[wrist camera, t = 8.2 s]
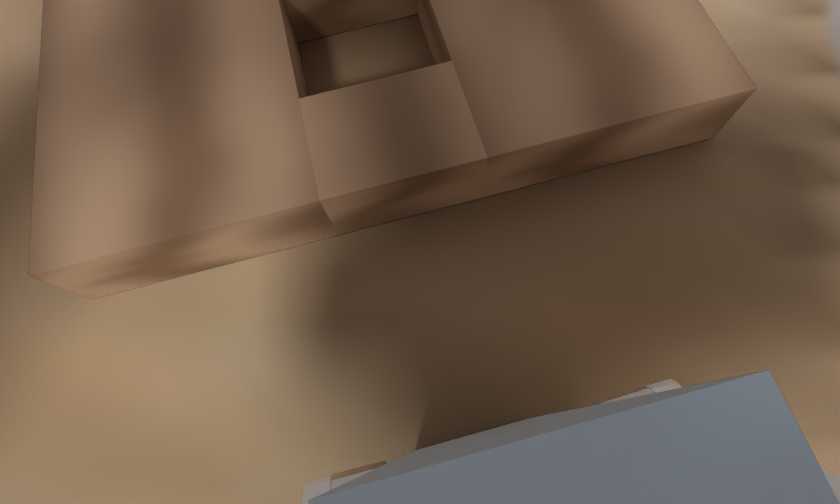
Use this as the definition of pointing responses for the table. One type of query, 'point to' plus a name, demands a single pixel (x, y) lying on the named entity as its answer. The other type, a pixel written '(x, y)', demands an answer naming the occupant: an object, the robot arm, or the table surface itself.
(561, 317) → the table surface
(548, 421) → the square peg
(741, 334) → the table surface
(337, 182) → the wooden square hole board
